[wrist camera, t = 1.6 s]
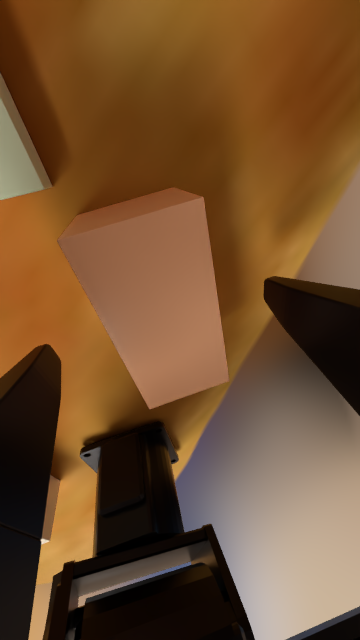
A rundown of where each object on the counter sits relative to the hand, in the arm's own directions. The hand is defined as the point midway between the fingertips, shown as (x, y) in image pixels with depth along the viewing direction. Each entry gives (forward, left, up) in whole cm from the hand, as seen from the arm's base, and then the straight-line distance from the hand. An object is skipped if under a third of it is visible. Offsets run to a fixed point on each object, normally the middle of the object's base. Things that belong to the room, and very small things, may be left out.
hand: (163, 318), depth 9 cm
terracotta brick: (0, 0, -3) cm, 3 cm away
